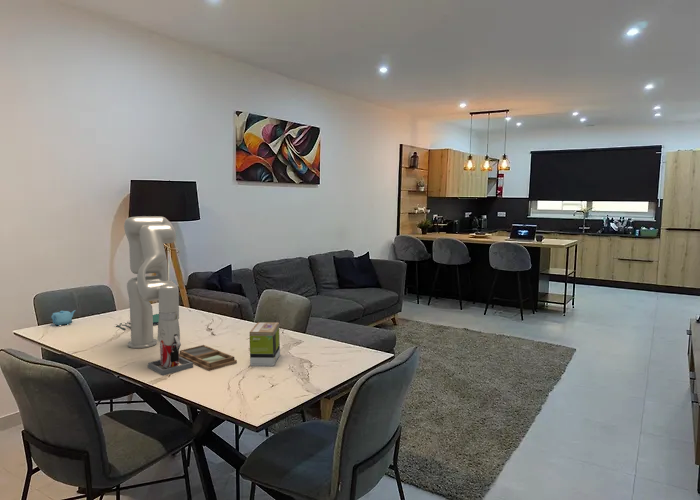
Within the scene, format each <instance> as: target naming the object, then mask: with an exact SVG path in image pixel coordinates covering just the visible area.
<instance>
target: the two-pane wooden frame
mask: <svg viewBox="0 0 700 500" xmlns="http://www.w3.org/2000/svg"><path fill="white" fill-rule="evenodd" d="M179 357H182V358H184V359H186V360H188V361H190V362H193V366H194V365H195V366H196V367H200V368H202V369H203V370H205V371H208V372H211V371H215V370H217V369H221V368H225V367H228V366H231V365H236V364H237V363H238V361H237V359H235V356H234V355H232V354H231V355H230V354H228V353H226V352H223V351H220V350H218V349H215V348H213V347H211V346H208V345H204V344H202V345H198V346H197V345H196V346H194V347H189V348H184V349H181V350H180V349H179Z"/></svg>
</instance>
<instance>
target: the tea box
mask: <svg viewBox="0 0 700 500" xmlns="http://www.w3.org/2000/svg"><path fill="white" fill-rule="evenodd" d="M280 340H281V339H280V322H256V324H254V326H253V327H252V328H251V330H250V331H249V361H250V362H249V363H250V366H251V367H274V366H275V365H276V362H277V361H278V359H279V357H280V356H281V345H280V342H281V341H280Z"/></svg>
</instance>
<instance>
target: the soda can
mask: <svg viewBox="0 0 700 500" xmlns="http://www.w3.org/2000/svg"><path fill="white" fill-rule="evenodd" d="M159 344H160V346H159V348H160V349H159V353H160V355H159V357H160V359H159V360H160V361H161V365H160V366H161V368H163V369H168V368H172V367H176V366H179V363H180V362H179V360H178V361H175V362H171V360H170V352H171V348H170V346H167V345H165V343H164V341H163V340H161V342H159ZM173 344H175V342H173ZM175 346H176V345H174V346H173V348H174V347H175Z"/></svg>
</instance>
